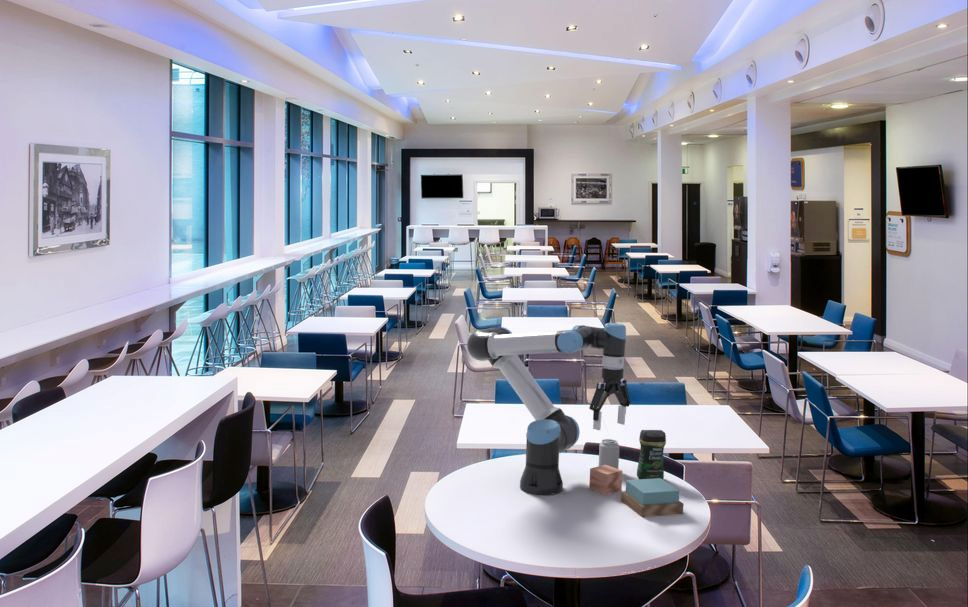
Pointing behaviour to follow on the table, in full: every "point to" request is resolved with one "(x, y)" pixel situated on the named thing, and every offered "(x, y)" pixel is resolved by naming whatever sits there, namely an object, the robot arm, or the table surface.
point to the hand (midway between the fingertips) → (609, 426)
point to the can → (609, 453)
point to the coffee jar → (651, 454)
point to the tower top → (652, 491)
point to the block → (605, 479)
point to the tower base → (651, 507)
